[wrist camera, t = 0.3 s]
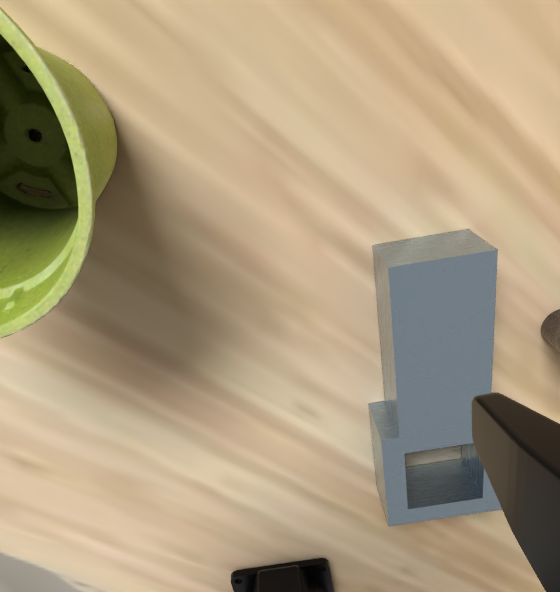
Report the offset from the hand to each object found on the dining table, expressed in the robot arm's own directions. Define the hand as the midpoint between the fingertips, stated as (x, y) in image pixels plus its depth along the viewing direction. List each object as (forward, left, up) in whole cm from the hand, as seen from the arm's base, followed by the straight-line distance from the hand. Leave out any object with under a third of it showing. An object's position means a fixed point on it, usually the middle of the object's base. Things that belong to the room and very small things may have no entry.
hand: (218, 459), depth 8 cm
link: (-9, -8, -14) cm, 18 cm away
